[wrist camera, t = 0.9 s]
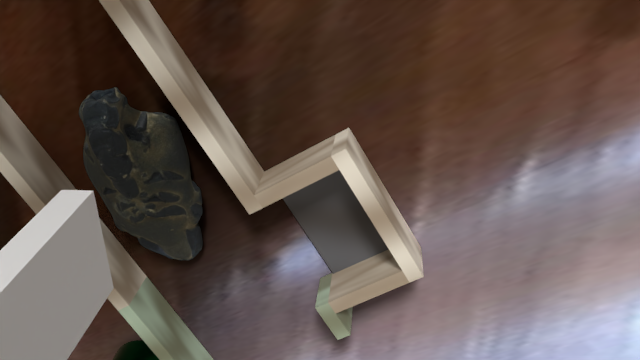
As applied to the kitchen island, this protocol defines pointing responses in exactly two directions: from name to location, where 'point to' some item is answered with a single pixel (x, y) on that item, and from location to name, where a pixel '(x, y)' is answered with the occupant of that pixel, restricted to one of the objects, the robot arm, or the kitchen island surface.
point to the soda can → (135, 351)
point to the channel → (250, 188)
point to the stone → (142, 174)
